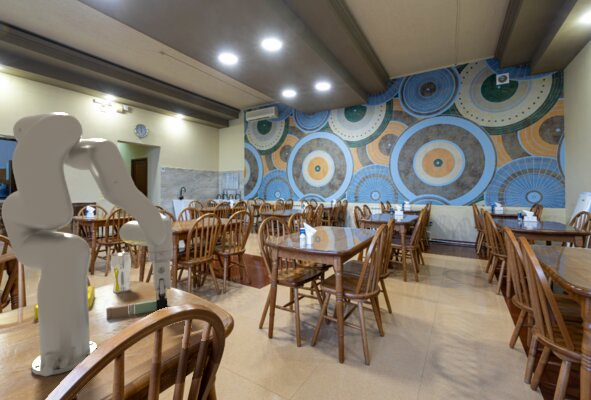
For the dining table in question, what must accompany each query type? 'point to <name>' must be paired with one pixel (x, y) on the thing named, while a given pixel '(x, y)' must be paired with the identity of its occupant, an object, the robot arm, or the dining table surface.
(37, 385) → the dining table surface
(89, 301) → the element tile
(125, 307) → the flat brown box
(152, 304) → the hinged panel
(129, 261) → the beer glass
